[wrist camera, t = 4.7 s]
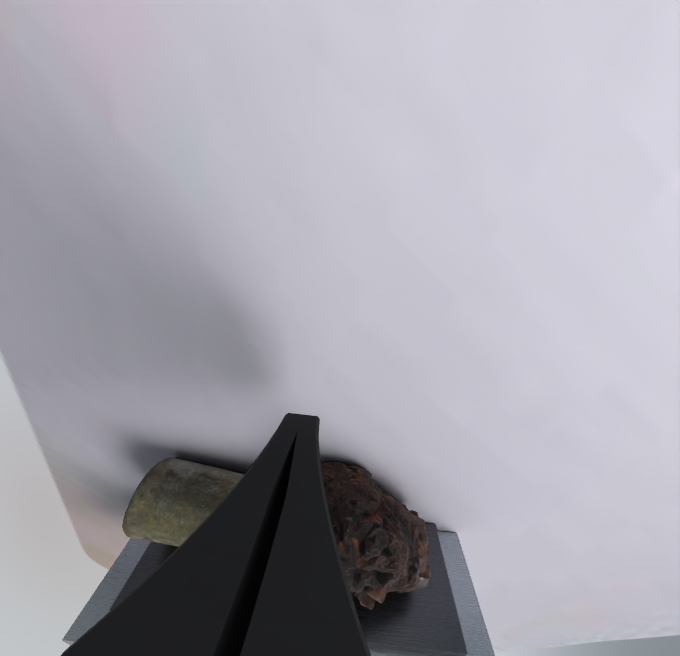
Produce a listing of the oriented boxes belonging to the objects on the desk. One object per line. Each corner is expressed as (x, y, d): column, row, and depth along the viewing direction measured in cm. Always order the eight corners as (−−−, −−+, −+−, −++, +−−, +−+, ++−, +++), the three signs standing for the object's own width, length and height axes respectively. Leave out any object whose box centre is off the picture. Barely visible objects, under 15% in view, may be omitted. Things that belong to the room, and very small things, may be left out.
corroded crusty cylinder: (181, 480, 18) (115, 584, 13) (169, 419, 15) (77, 522, 10) (405, 520, 19) (423, 634, 14) (437, 467, 16) (475, 589, 11)
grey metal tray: (442, 555, 21) (479, 705, 14) (169, 523, 21) (91, 658, 15) (461, 526, 18) (515, 691, 12) (154, 491, 19) (53, 634, 12)
